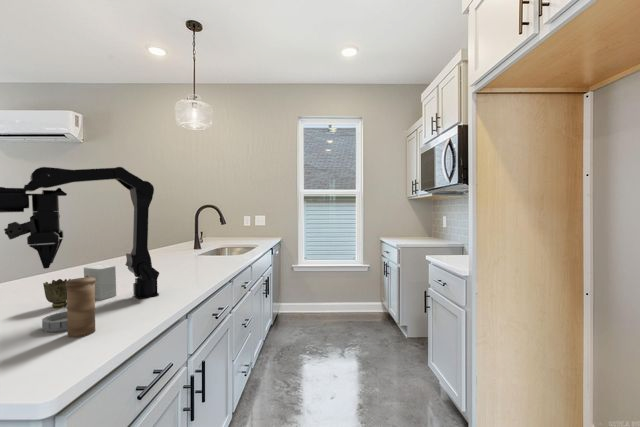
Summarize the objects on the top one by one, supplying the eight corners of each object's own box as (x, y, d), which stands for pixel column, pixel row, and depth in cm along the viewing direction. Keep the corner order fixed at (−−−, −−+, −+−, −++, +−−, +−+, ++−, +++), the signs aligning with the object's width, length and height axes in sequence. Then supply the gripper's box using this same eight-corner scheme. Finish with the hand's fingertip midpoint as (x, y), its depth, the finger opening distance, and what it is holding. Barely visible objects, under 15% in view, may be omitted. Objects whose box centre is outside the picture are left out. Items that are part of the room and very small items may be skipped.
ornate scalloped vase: (56, 311, 92) (56, 284, 92) (37, 309, 94) (36, 283, 93) (80, 303, 99) (80, 278, 99) (62, 302, 101) (61, 277, 101)
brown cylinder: (94, 326, 80) (93, 276, 80) (98, 333, 76) (97, 280, 76) (65, 332, 76) (64, 279, 76) (67, 340, 72) (66, 284, 72)
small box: (116, 296, 108) (116, 265, 108) (100, 300, 103) (100, 268, 103) (100, 293, 111) (99, 264, 111) (83, 298, 106) (83, 267, 105)
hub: (84, 316, 88) (84, 308, 87) (89, 325, 81) (89, 316, 81) (41, 325, 81) (41, 315, 81) (43, 335, 75) (42, 325, 75)
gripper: (13, 211, 92) (16, 264, 92) (-2, 213, 77) (1, 275, 77) (62, 211, 99) (64, 260, 99) (57, 211, 83) (59, 269, 84)
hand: (48, 265), depth 90 cm, fingers open, 9 cm apart
